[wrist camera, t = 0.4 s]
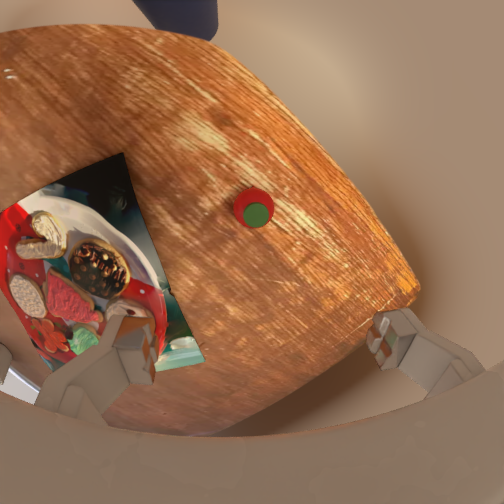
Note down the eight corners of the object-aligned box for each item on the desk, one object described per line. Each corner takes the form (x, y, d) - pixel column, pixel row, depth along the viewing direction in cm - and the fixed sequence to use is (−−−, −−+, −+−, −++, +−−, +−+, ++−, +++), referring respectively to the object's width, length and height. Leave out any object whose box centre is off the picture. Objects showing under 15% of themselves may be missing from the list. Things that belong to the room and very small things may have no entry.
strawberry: (254, 176, 30) (259, 185, 26) (278, 203, 32) (286, 217, 27) (225, 200, 31) (225, 214, 27) (249, 226, 33) (253, 244, 28)
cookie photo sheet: (206, 361, 43) (206, 369, 41) (60, 370, 43) (57, 376, 41) (126, 151, 27) (120, 153, 25) (-25, 228, 27) (-31, 233, 25)
